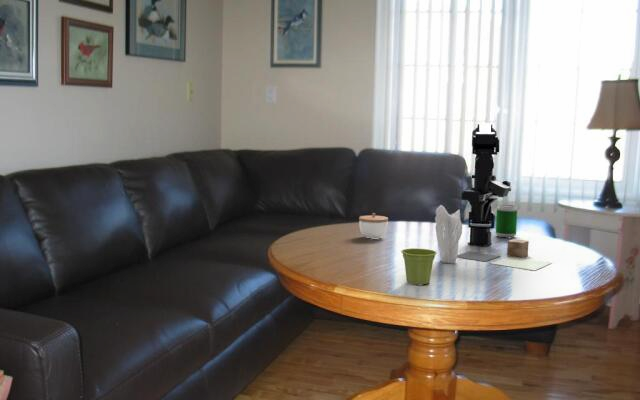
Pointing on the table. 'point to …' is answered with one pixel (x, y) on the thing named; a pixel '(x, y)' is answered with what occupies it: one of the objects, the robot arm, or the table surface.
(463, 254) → the mat
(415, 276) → the plant pot
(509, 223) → the soda can
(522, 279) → the table surface
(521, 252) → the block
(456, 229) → the shell sculpture
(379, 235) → the lidded jar
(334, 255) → the table surface
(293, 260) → the table surface
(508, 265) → the mat
